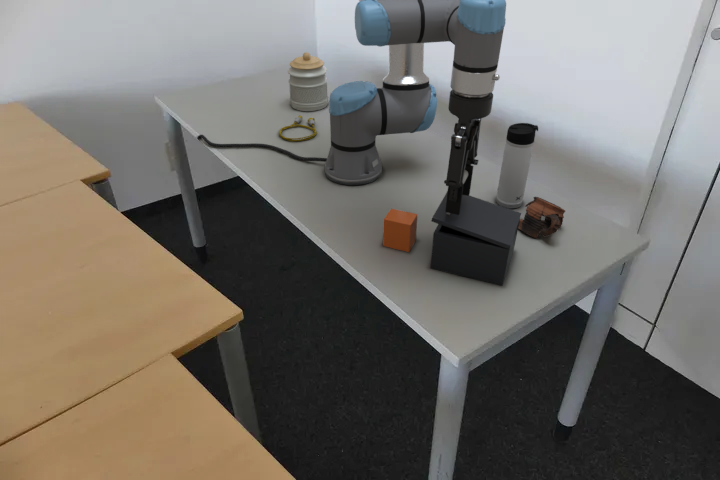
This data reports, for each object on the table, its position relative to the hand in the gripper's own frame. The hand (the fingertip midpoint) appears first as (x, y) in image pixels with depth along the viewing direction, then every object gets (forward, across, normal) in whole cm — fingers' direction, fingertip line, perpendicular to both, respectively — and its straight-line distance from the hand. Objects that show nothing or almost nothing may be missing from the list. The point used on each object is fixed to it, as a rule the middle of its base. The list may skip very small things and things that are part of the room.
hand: (457, 202), depth 108 cm
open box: (+13, 0, -5) cm, 14 cm away
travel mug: (+13, +26, -8) cm, 30 cm away
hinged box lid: (+3, 0, -4) cm, 5 cm away
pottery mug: (+13, +17, -16) cm, 27 cm away
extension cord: (+14, +44, +60) cm, 75 cm away
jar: (+14, +65, +68) cm, 94 cm away
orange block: (+13, 0, +12) cm, 17 cm away
